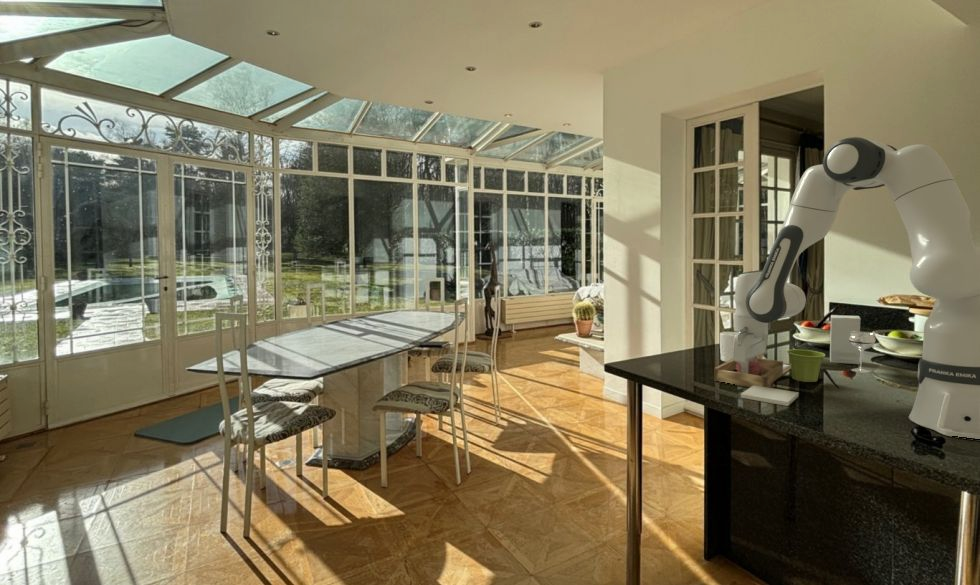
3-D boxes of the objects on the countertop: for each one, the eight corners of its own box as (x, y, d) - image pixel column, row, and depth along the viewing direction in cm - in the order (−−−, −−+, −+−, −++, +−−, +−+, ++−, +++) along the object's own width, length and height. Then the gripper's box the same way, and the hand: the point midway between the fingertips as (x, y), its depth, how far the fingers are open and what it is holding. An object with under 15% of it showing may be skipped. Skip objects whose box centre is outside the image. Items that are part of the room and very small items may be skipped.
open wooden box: (782, 377, 155) (783, 361, 154) (766, 389, 142) (766, 372, 142) (733, 370, 164) (733, 355, 164) (714, 381, 152) (714, 364, 151)
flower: (757, 364, 147) (756, 350, 151) (729, 371, 152) (730, 358, 156) (770, 382, 149) (769, 368, 153) (743, 388, 155) (743, 375, 158)
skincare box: (858, 361, 175) (860, 315, 173) (859, 365, 169) (862, 318, 168) (828, 358, 179) (830, 314, 178) (829, 362, 174) (831, 316, 172)
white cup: (747, 365, 170) (748, 336, 169) (721, 365, 172) (722, 335, 171) (740, 360, 178) (741, 332, 177) (716, 359, 180) (717, 331, 179)
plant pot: (817, 378, 153) (818, 350, 152) (828, 387, 144) (830, 356, 143) (782, 377, 156) (783, 348, 155) (791, 385, 147) (792, 355, 146)
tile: (798, 396, 136) (798, 392, 136) (787, 406, 128) (787, 402, 128) (753, 388, 144) (753, 385, 143) (740, 397, 135) (740, 393, 135)
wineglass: (879, 373, 159) (881, 334, 158) (857, 373, 159) (859, 334, 158) (863, 368, 166) (865, 331, 164) (842, 368, 166) (844, 331, 164)
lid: (795, 367, 167) (796, 364, 167) (782, 377, 155) (783, 373, 155) (749, 361, 176) (749, 358, 176) (733, 370, 164) (733, 366, 164)
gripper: (751, 331, 142) (749, 380, 143) (771, 322, 157) (770, 367, 158) (727, 328, 146) (726, 376, 147) (749, 320, 161) (748, 364, 162)
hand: (749, 371), depth 153 cm, fingers closed on flower, 6 cm apart
